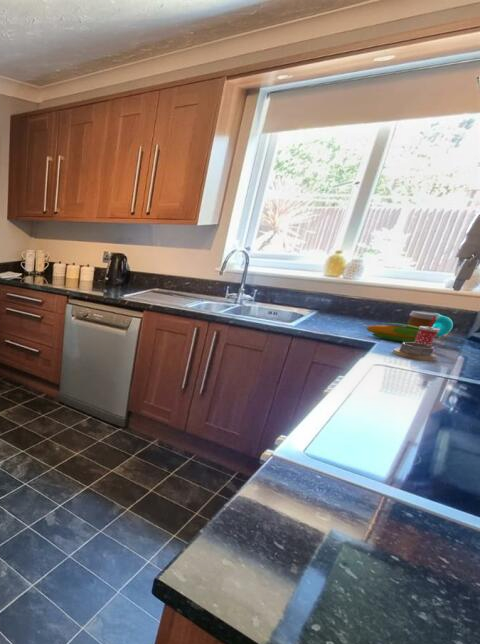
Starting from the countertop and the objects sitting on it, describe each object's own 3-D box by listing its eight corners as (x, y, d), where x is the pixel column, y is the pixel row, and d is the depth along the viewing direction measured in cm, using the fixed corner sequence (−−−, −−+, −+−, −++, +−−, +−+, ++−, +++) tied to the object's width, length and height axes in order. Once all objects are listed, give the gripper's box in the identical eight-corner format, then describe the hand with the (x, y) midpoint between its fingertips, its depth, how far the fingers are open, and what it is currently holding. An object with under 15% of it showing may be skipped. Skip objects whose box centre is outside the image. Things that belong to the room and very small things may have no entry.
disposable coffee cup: (431, 342, 187) (443, 316, 182) (402, 339, 192) (414, 313, 187) (425, 338, 194) (436, 312, 190) (397, 334, 199) (408, 309, 195)
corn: (430, 328, 178) (368, 319, 191) (423, 346, 180) (361, 336, 194) (431, 327, 183) (370, 318, 196) (423, 344, 185) (363, 334, 199)
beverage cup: (412, 345, 181) (426, 313, 176) (432, 349, 176) (447, 316, 171) (408, 347, 178) (422, 315, 173) (428, 351, 173) (443, 318, 168)
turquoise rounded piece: (419, 335, 199) (429, 314, 195) (410, 331, 207) (419, 311, 204) (448, 338, 195) (458, 317, 191) (437, 334, 203) (446, 313, 200)
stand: (434, 356, 167) (439, 345, 165) (435, 363, 159) (440, 351, 157) (393, 349, 174) (397, 339, 173) (391, 355, 167) (396, 344, 165)
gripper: (487, 255, 155) (468, 293, 160) (482, 253, 169) (465, 288, 174) (462, 253, 159) (445, 290, 164) (459, 251, 173) (443, 286, 178)
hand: (455, 289), depth 169 cm, fingers open, 8 cm apart
